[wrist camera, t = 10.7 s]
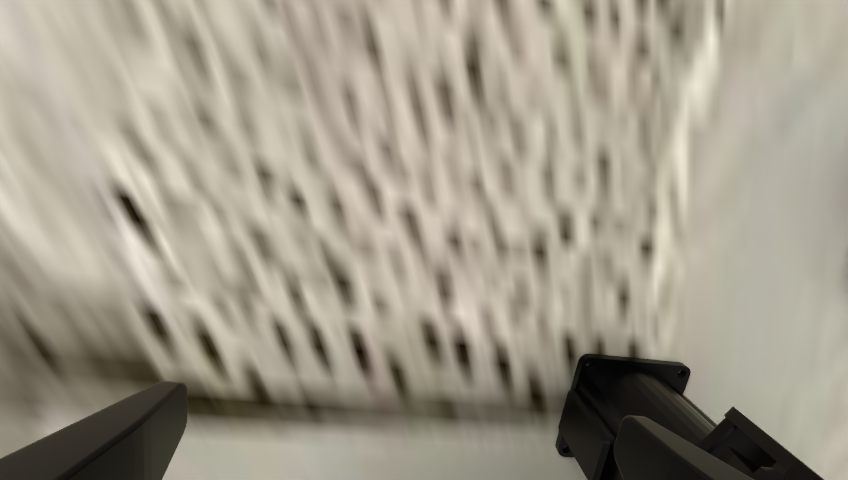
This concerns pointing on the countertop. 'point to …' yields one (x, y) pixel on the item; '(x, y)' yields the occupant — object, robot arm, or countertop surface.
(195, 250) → the countertop surface
